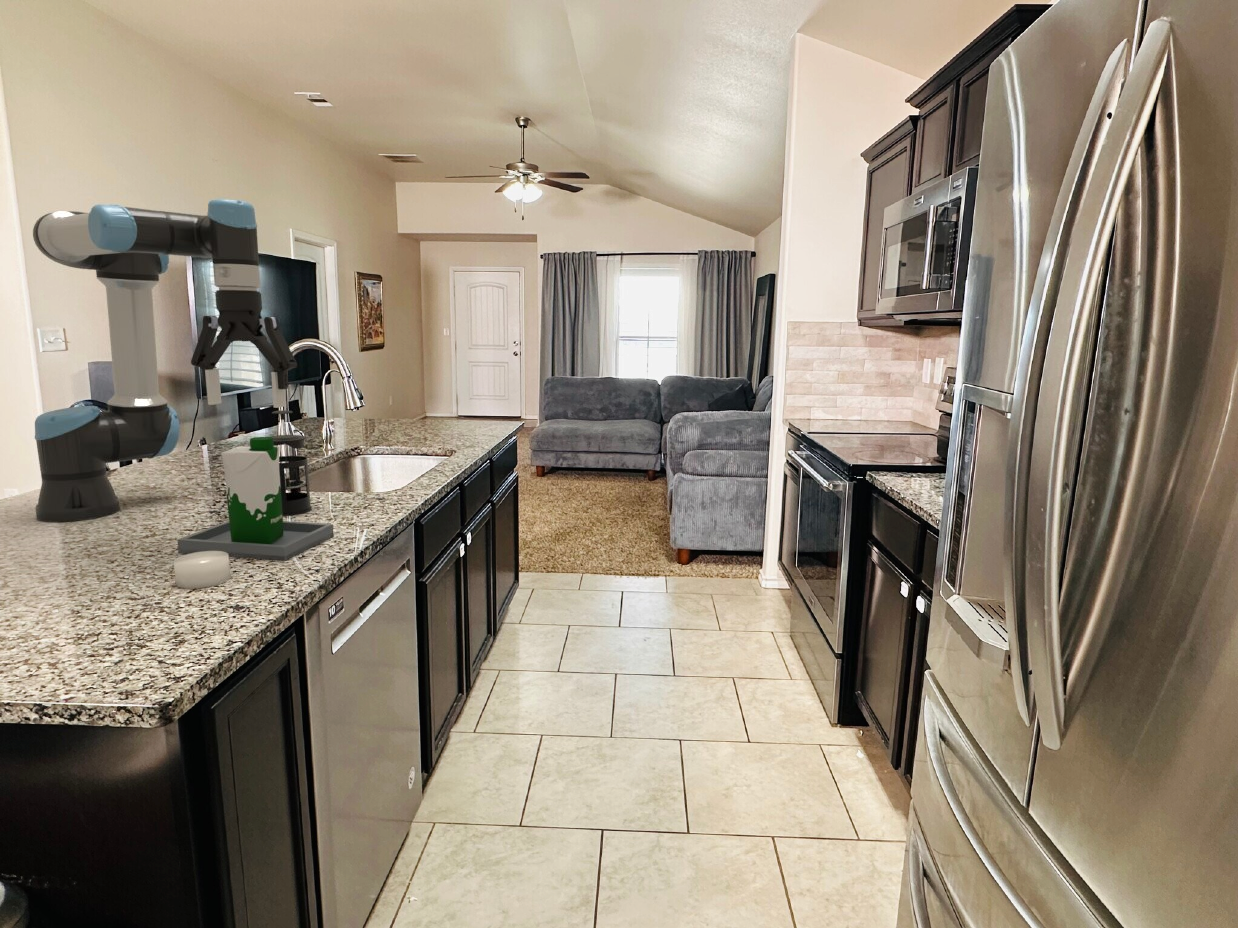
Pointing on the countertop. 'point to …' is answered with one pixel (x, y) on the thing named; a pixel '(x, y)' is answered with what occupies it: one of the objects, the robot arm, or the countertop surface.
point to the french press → (292, 473)
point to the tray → (285, 547)
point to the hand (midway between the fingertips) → (247, 405)
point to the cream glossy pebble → (202, 569)
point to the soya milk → (254, 492)
